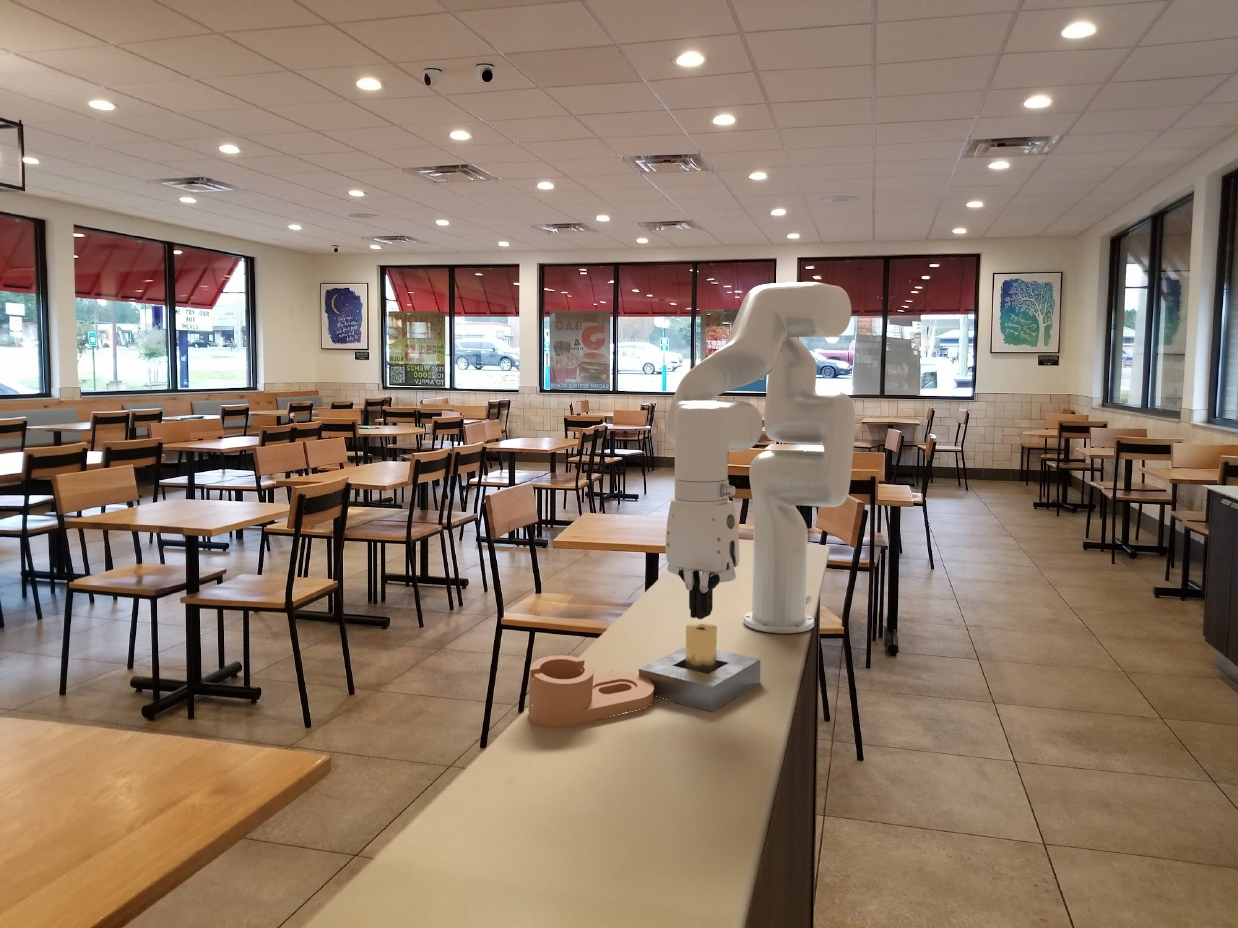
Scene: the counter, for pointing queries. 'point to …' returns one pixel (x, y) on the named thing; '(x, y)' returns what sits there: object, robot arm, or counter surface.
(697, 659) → the gold rounded cylinder
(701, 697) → the plate
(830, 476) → the robot arm
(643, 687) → the bracket
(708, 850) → the counter surface
